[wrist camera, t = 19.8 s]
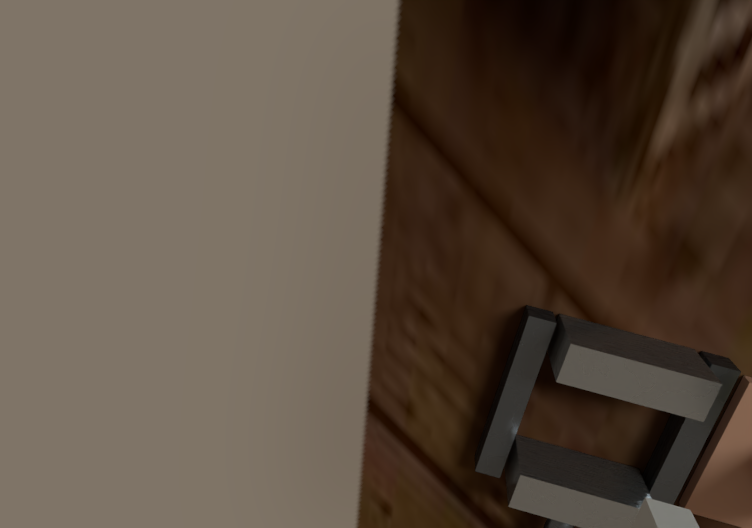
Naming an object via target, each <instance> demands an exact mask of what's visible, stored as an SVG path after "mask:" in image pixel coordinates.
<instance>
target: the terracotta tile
mask: <svg viewBox="0 0 752 528" xmlns="http://www.w3.org/2000/svg"><path fill="white" fill-rule="evenodd" d="M679 504H680V506H681V507H682V508H686V509H689V510H691V512H692V514H696V515H699V516H703V517H706V518H710V519H713V520H717V521H720V522H724V523H727V524H731V525H735V526H738V527H742V528H752V378H751V377H748V376H743V378H742V380H741V382H740V383H739V385H738V387H737V389H736V391H735V393H734V395H733V397H732V399H731V401H730V403H729V405H728V407H727V409H726V411H725V413H724V415H723V417H722V419H721V421H720V423H719V425H718V426H717V428H716V430H715V432H714V434H713V436H712V438H711V440H710V442H709V444H708V446H707V448H706V450H705V452H704V454H703V456H702V458H701V460H700V462H699V464H698V466H697V467H696V469H695V471H694V473H693V475H692V477H691V479H690V481H689V483H688V485H687V487H686V489H685V491H684V493H683V495H682V497H681V499H680V501H679Z"/></svg>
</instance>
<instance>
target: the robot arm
mask: <svg viewBox="0 0 752 528" xmlns="http://www.w3.org/2000/svg"><path fill="white" fill-rule="evenodd" d="M630 528H699V526H698V524H697V522H696V520H695V518H694V516H693V514H692V512H691V510H689V509H686V508H682V507H678V506H675V505H671V504H668V503H664V502H661V501H657V500H654V499H650V498H646V497H645V499H644V501H643V503H642V505H641V507H640V509H639V511H638V513H637V515H636V517H635V519H634V521H633V523H632V525H631V527H630Z"/></svg>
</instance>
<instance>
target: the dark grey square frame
mask: <svg viewBox="0 0 752 528" xmlns="http://www.w3.org/2000/svg"><path fill="white" fill-rule="evenodd" d="M546 351H547V352H548V355H549V359H550V362H551V366H552V369H553V373H554V376H555V380H556V382H558V383H561V384H565V385H569V386H572V387H576V388H580V389H583V390H587V391H591V392H595V393H598V394H602V395H606V396H609V397H613V398H617V399H620V400H624V401H628V402H631V403H635V404H639V405H643V406H646V407H650V408H654V409H657V410H661V411H665V412H668V413H672V414H671V416H670V418H669V420H668V422H667V424H666V427H665V429H664V431H663V433H662V435H661V437H660V439H659V441H658V443H657V446H656V448H655V450H654V452H653V454H652V456H651V458H650V460H649V462H648V465H647V467H646V469H645V471H644V473H643V475H642V476H641V473H640V471H639V469H638V468H635V467H631V466H627V465H624V464H620V463H617V462H613V461H610V460H606V459H602V458H599V457H595V456H592V455H588V454H584V453H581V452H577V451H574V450H570V449H566V448H563V447H559V446H556V445H552V444H548V443H545V442H541V441H538V440H534V439H530V438H527V437H523V436H520V435H516V433H517V430H518V427H519V424H520V422H521V419H522V416H523V414H524V411H525V408H526V405H527V403H528V400H529V397H530V395H531V392H532V389H533V386H534V384H535V381H536V378H537V376H538V373H539V370H540V367H541V365H542V362H543V359H544V356H545V354H546ZM740 373H741V371H740V370H739V369H738V368H737V367H736V366H735V365H734V363H733V362H732V361H731V360H730V359H729V358H726V357H722V356H718V355H714V354H711V353H707V352H703V351H701V353H700V355H699V354H698V353H697V352H696V351H695V349H692V348H688V347H684V346H680V345H676V344H673V343H669V342H665V341H661V340H657V339H654V338H650V337H646V336H642V335H638V334H634V333H631V332H627V331H623V330H619V329H615V328H612V327H608V326H604V325H600V324H596V323H593V322H589V321H585V320H581V319H577V318H574V317H570V316H566V315H562V314H559V317H558V319H557V322H556V320H555V317H554V314H553V312H551V311H547V310H543V309H539V308H536V307H532V306H528V305H526V308H525V311H524V314H523V317H522V320H521V322H520V325H519V328H518V331H517V334H516V337H515V340H514V343H513V346H512V349H511V352H510V354H509V357H508V360H507V363H506V366H505V369H504V372H503V375H502V378H501V381H500V384H499V387H498V389H497V392H496V395H495V398H494V401H493V404H492V407H491V410H490V413H489V416H488V419H487V421H486V424H485V427H484V430H483V433H482V436H481V439H480V442H479V445H478V448H477V451H476V454H475V471H476V472H480V473H483V474H487V475H490V476H494V477H497V478H500V476H501V473H502V471H503V468H504V465H505V476H506V486H507V497H508V507H511V508H514V509H518V510H521V511H525V512H528V513H532V514H535V515H539V516H542V517H546V518H547V520H546V522H545V525H544V527H543V528H574V526H577V527H581V528H630V527H631V525H632V523H633V521H634V519H635V517H636V515H637V513H638V511H639V509H640V507H641V505H642V503H643V501H644V499H645V497H646V498H650V499H654V500H657V501H661V502H664V503H668V504H671V505H673V504H674V502H675V500H676V499H677V497H678V495H679V493H680V491H681V489H682V487H683V485H684V483H685V481H686V479H687V477H688V475H689V473H690V471H691V469H692V467H693V465H694V463H695V461H696V459H697V457H698V455H699V453H700V451H701V449H702V447H703V445H704V443H705V441H706V440H707V438H708V436H709V434H710V432H711V430H712V428H713V426H714V424H715V422H716V420H717V418H718V416H719V414H720V412H721V410H722V408H723V406H724V404H725V402H726V400H727V398H728V396H729V394H730V392H731V390H732V388H733V386H734V384H735V382H736V381H737V379H738V377H739V375H740Z"/></svg>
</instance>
